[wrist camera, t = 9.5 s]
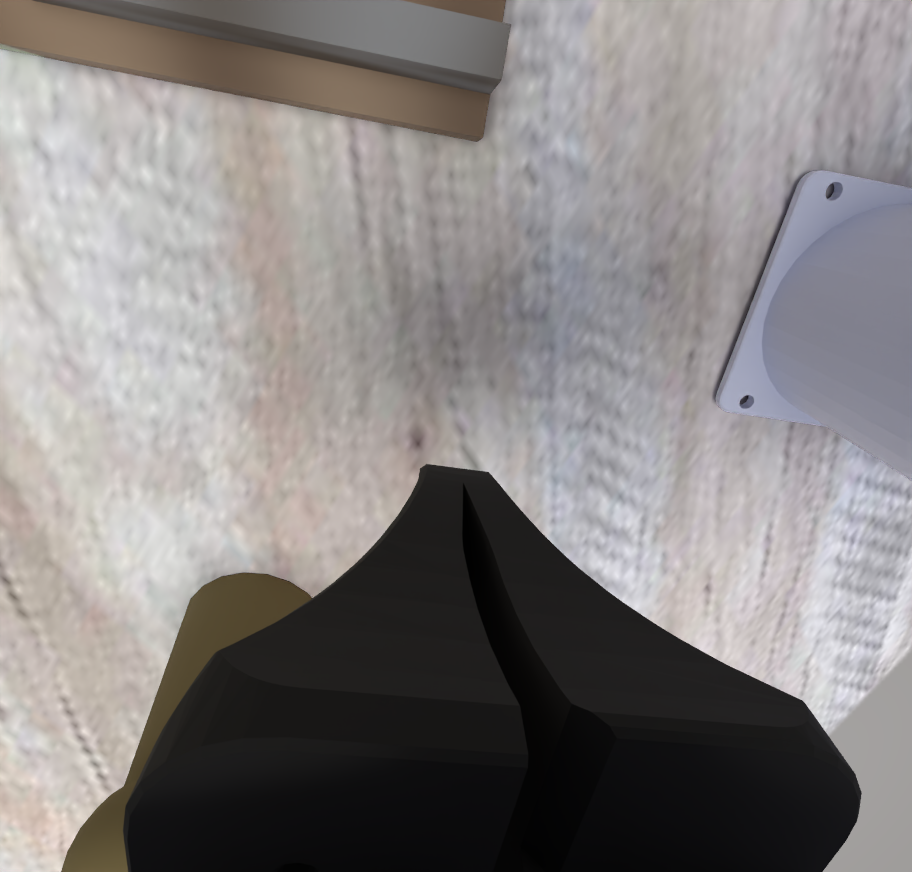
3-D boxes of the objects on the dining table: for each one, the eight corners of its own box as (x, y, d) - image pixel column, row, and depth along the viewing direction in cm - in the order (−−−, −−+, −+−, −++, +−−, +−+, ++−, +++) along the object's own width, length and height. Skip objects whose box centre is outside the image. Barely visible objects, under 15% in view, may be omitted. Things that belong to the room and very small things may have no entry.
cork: (288, 555, 23) (178, 853, 13) (349, 657, 25) (297, 973, 15) (156, 597, 23) (-48, 914, 13) (228, 693, 26) (103, 1019, 16)
